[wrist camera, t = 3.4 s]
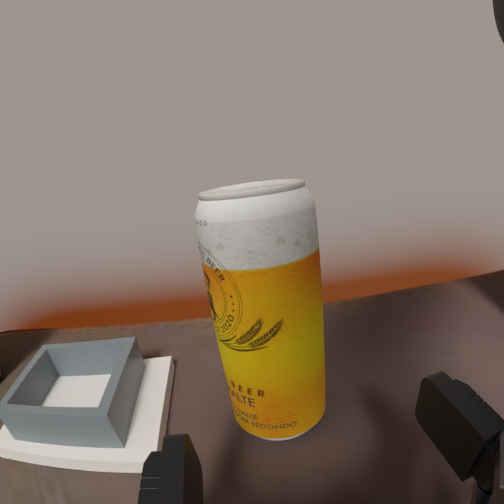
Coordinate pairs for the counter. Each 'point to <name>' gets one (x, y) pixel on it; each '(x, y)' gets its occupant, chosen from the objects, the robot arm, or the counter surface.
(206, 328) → the counter surface
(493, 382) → the counter surface
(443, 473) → the counter surface
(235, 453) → the counter surface
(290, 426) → the beer can
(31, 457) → the dock
